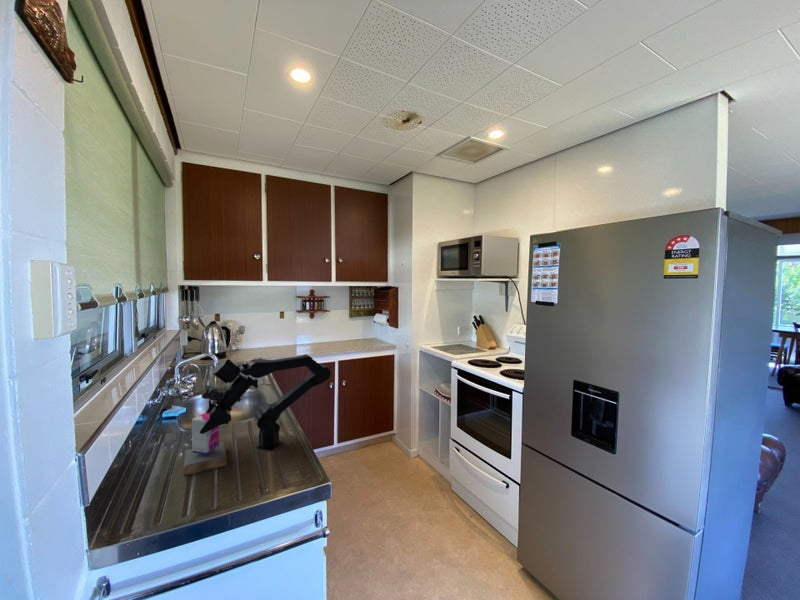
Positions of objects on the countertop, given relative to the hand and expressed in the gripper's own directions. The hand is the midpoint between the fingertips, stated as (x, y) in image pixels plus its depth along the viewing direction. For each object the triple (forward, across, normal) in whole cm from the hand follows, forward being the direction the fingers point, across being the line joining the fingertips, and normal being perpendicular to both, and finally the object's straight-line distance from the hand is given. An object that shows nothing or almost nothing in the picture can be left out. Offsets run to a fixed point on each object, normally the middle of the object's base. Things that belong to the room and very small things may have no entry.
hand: (200, 428), depth 112 cm
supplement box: (+4, 0, +6) cm, 8 cm away
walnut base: (+8, 0, +9) cm, 12 cm away
